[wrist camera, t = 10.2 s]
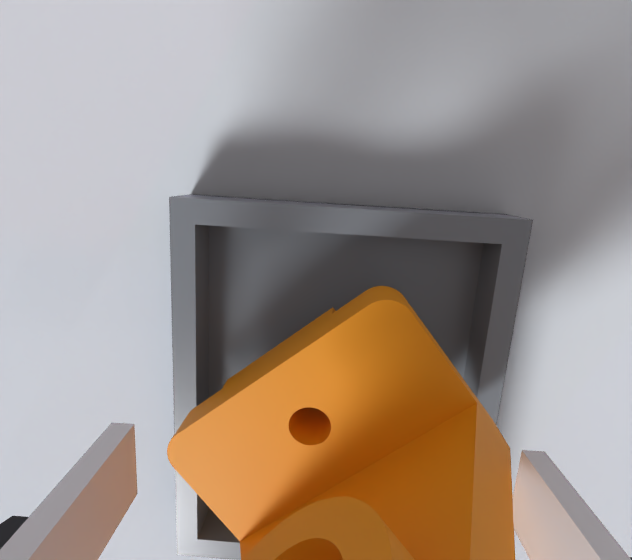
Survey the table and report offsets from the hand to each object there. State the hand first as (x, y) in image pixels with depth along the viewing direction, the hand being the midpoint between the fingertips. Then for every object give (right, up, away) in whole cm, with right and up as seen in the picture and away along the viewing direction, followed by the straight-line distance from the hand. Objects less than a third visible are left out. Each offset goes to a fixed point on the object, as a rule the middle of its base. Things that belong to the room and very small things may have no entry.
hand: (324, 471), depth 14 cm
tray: (+1, +2, +6) cm, 7 cm away
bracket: (0, +1, +4) cm, 4 cm away
